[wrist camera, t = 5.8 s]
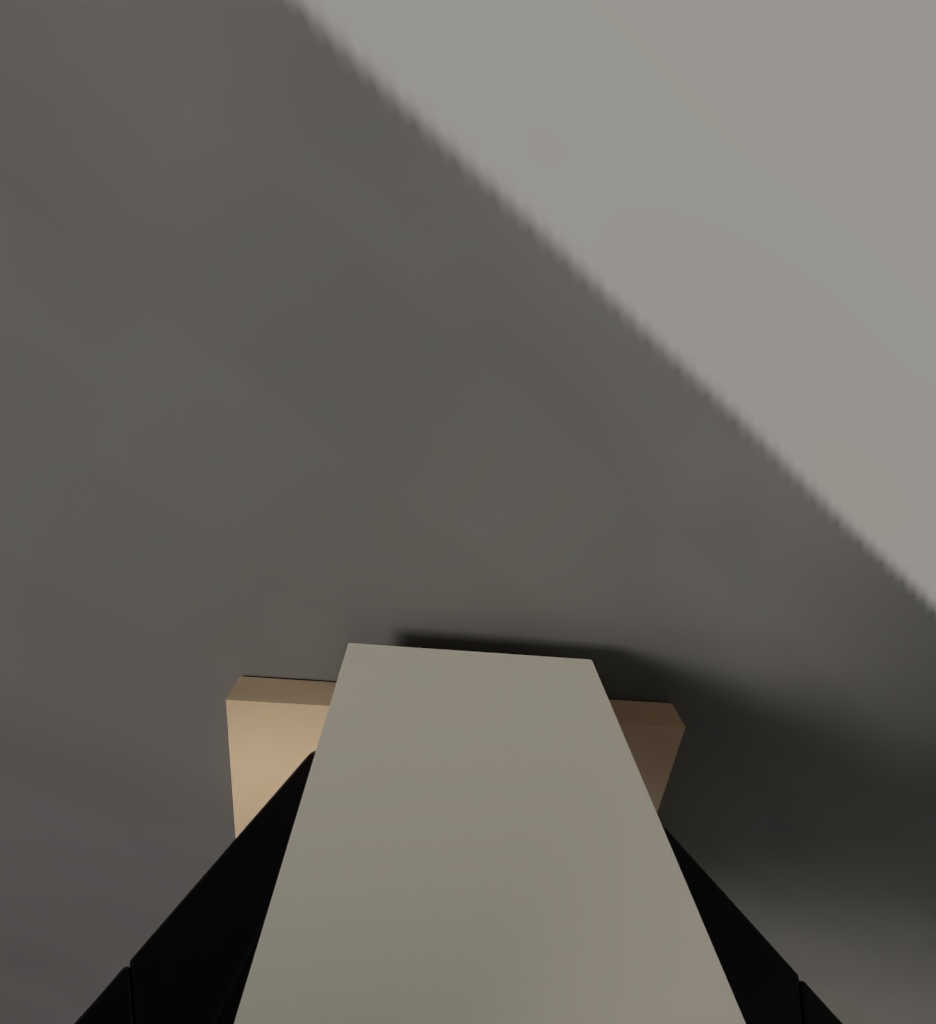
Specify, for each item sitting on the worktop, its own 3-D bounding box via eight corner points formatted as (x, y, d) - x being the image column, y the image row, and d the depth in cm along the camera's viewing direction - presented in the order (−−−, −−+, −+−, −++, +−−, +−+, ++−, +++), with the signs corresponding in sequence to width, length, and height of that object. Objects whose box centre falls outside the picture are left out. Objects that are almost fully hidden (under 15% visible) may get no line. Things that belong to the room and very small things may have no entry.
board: (555, 1076, 14) (560, 1107, 14) (262, 1074, 14) (254, 1107, 13) (671, 703, 10) (685, 727, 9) (239, 676, 9) (225, 700, 9)
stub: (553, 834, 10) (651, 1309, 5) (339, 826, 10) (235, 1321, 5) (594, 660, 9) (781, 1094, 4) (345, 643, 8) (205, 1091, 3)
